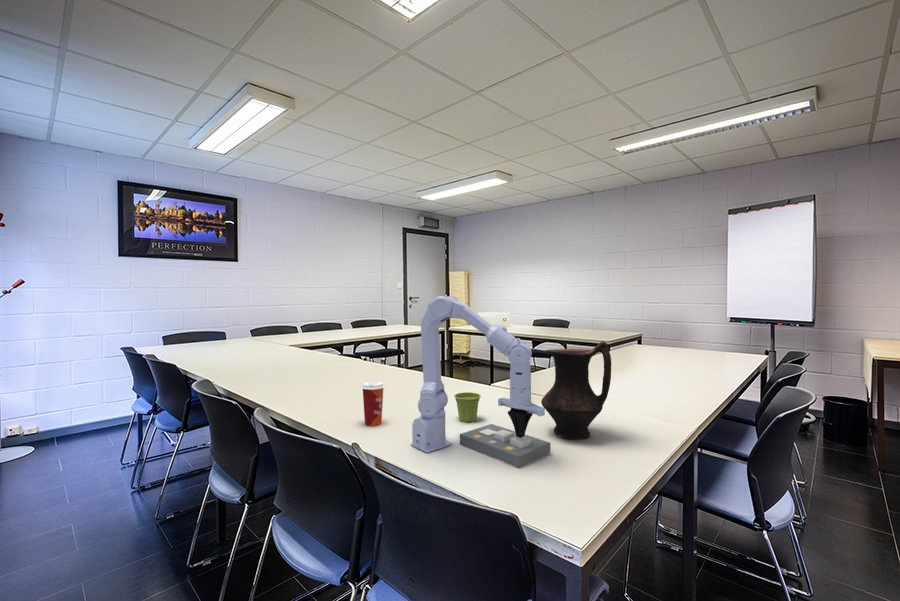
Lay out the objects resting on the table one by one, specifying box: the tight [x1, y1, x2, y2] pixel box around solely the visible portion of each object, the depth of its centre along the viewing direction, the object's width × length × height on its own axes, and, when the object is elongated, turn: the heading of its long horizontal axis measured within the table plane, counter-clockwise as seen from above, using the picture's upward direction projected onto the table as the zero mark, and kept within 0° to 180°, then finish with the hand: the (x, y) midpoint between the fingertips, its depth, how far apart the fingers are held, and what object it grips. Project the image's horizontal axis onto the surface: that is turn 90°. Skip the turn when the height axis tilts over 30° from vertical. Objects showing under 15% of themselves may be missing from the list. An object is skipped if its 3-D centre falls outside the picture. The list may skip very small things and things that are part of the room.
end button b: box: [510, 436, 531, 449], centre depth 108 cm, size 4×4×3 cm
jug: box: [540, 340, 612, 440], centre depth 123 cm, size 21×18×30 cm
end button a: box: [479, 429, 496, 437], centre depth 117 cm, size 4×4×3 cm
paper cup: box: [361, 380, 385, 427], centre depth 135 cm, size 8×8×14 cm
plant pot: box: [453, 391, 482, 423], centre depth 139 cm, size 9×9×9 cm
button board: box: [459, 423, 552, 469], centre depth 112 cm, size 14×22×3 cm, turn 42°
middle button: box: [494, 430, 514, 443], centre depth 112 cm, size 4×4×3 cm
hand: (520, 436), depth 108 cm, fingers closed
